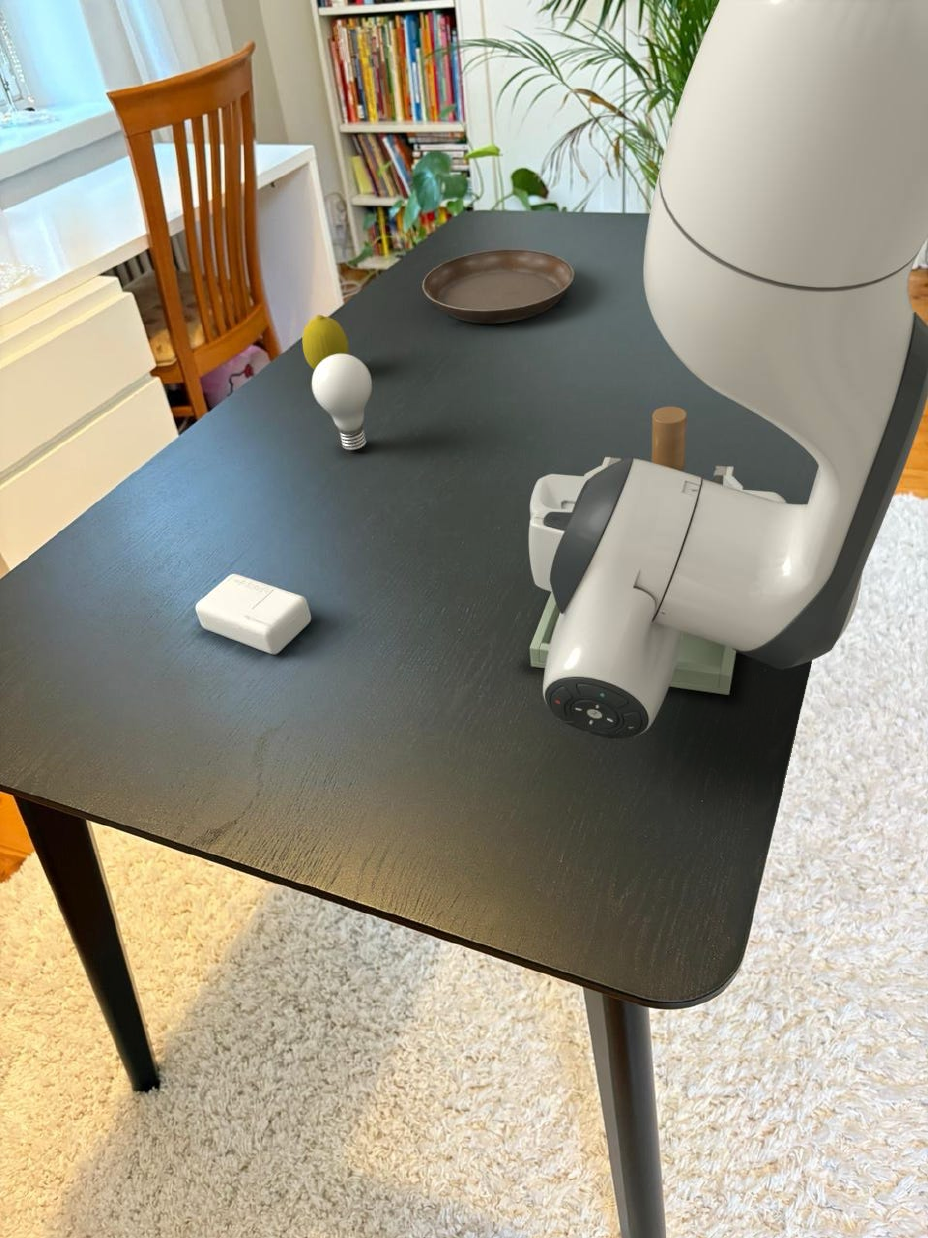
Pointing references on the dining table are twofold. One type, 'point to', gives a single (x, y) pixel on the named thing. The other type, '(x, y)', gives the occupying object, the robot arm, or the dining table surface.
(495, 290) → the plant saucer
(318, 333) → the lemon
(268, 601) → the soap
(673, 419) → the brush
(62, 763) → the dining table surface
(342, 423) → the lightbulb
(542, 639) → the tray
